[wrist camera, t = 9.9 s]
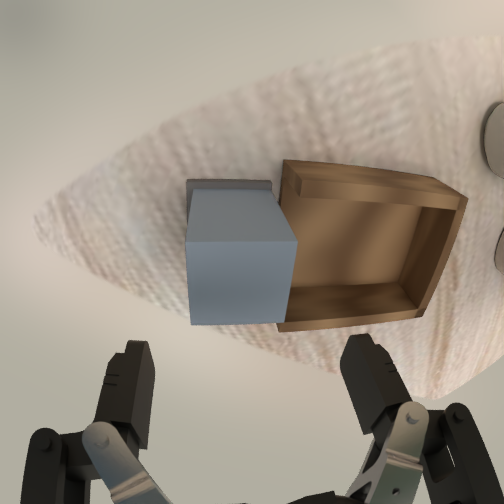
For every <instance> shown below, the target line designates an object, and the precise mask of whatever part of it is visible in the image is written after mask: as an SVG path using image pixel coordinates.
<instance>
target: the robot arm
mask: <svg viewBox="0 0 504 504" xmlns="http://www.w3.org/2000/svg"><path fill="white" fill-rule="evenodd" d="M495 264H496V267H497V269H498V270H499V271H500V272H501V273H502V274H503V275H504V231H503V233H502V236H501V238H500V240H499V243H498V246H497V250H496V256H495ZM340 370H341V373H342V376H343V379H344V381H345V384H346V387H347V390H348V392H349V395H350V398H351V401H352V403H353V406H354V409H355V412H356V414H357V417H358V420H359V423H360V426H361V429H362V432H363V434H364V435H366V434H370V433H373V435H374V439H373V441H372V443H371V445H370V448H369V451H368V453H367V455H366V458H365V460H364V463H363V465H362V467H361V469H360V472H359V474H358V476H357V478H356V479H355V481H354V482H353V483H352V485H351V486H350V488H349V489H348V491H347V493H346V495H345V496H339V495H335V493H334V491H330V492H326V493H321V494H316V495H311V496H306V497H303V498H301V499H298V500H296V501H293V502H291V503H288V504H412V503H413V500H414V497H415V494H416V491H417V488H418V485H419V482H420V479H421V475H422V473H423V476H424V479H425V483H426V486H427V489H428V493H429V497H430V500H431V504H504V496H503V493H502V490H501V487H500V484H499V481H498V478H497V475H496V473H495V470H494V467H493V465H492V462H491V459H490V457H489V454H488V452H487V449H486V447H485V444H484V442H483V440H482V437H481V435H480V433H479V430H478V428H477V426H476V424H475V421H474V419H473V417H472V415H471V413H470V411H469V409H468V408H467V407H466V406H465V405H463V404H461V403H452V404H450V405H449V406H448V407H447V408H446V409H445V410H426V409H425V407H424V406H423V405H421V404H420V403H418V402H413V401H412V399H411V397H410V395H409V393H408V391H407V389H406V387H405V385H404V383H403V381H402V379H401V377H400V375H399V373H398V372H397V369H396V367H395V365H394V364H393V361H392V359H391V357H390V355H389V353H388V352H387V351H386V350H385V349H384V348H383V347H382V346H381V345H380V344H376V345H375V344H374V342H373V340H372V338H371V336H370V335H369V334H368V333H366V334H357V335H351V336H350V337H349V339H348V341H347V344H346V346H345V349H344V352H343V354H342V356H341V360H340ZM154 382H155V367H154V362H153V359H152V355H151V352H150V348H149V344H148V342H147V341H135V340H134V341H133V340H129V341H128V342H127V345H126V349H125V353H116V354H115V355H114V356H113V357H112V359H111V360H110V361H109V362H108V366H107V370H106V376H105V377H104V381H103V385H102V389H101V393H100V397H99V401H98V406H97V410H96V414H95V418H94V421H93V423H92V424H90V425H89V426H88V427H87V428H86V429H85V430H83V431H81V432H77V433H69V434H60V435H59V434H58V433H56V432H55V431H54V430H52V429H50V428H41V429H39V430H37V431H35V432H34V433H33V435H32V436H31V439H30V443H29V448H28V453H27V458H26V464H25V471H24V476H23V484H22V492H21V502H20V504H90V485H91V484H90V483H91V480H95V479H102V480H103V481H104V483H105V485H106V486H107V488H108V489H109V491H110V493H111V499H112V501H113V502H114V504H173V503H172V502H171V501H170V500H169V499H168V497H167V496H166V495H165V494H164V493H163V491H162V490H161V489H160V488H159V486H158V485H157V484H156V483H155V481H154V480H153V479H152V477H151V476H150V475H149V473H148V472H147V471H146V470H145V468H144V467H143V465H142V464H141V463H140V461H139V460H138V456H139V449H147V445H148V433H149V424H150V415H151V406H152V397H153V389H154ZM447 445H448V448H449V451H450V453H451V456H452V459H453V461H454V464H455V467H454V464H453V461H452V459H451V456H450V453H449V451H448V448H447ZM242 504H246V503H242Z"/></svg>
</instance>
